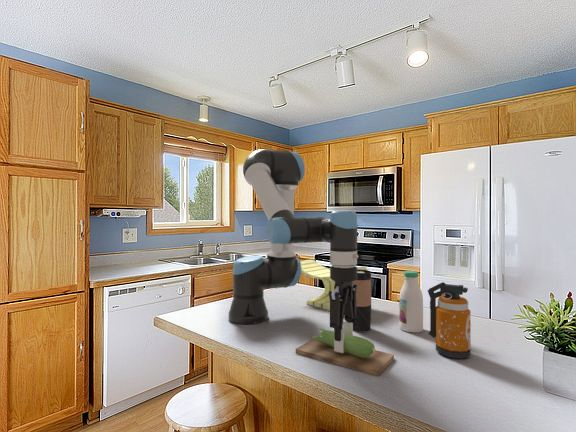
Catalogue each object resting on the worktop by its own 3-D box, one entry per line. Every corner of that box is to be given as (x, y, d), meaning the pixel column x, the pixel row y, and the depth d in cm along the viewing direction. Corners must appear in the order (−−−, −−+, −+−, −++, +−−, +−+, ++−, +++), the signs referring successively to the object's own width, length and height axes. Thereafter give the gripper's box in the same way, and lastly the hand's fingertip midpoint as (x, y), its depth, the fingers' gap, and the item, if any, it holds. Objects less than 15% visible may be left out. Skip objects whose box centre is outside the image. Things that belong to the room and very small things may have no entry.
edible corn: (367, 346, 86) (376, 337, 89) (309, 330, 100) (318, 322, 103) (370, 364, 86) (379, 354, 90) (312, 345, 101) (322, 337, 104)
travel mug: (371, 333, 112) (371, 273, 112) (348, 331, 114) (348, 272, 114) (370, 325, 120) (370, 269, 120) (349, 324, 121) (349, 269, 121)
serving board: (295, 353, 96) (295, 348, 96) (316, 340, 106) (316, 336, 106) (379, 376, 82) (379, 371, 82) (393, 358, 92) (393, 354, 92)
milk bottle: (423, 327, 118) (423, 270, 118) (422, 334, 111) (422, 274, 111) (400, 324, 121) (400, 269, 121) (398, 331, 114) (398, 272, 114)
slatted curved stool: (368, 306, 144) (368, 265, 144) (346, 314, 133) (346, 269, 133) (315, 294, 166) (315, 258, 166) (292, 300, 155) (292, 262, 155)
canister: (469, 363, 90) (469, 288, 90) (425, 353, 96) (425, 283, 95) (471, 351, 97) (471, 282, 97) (430, 343, 103) (430, 278, 103)
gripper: (341, 271, 85) (341, 363, 85) (368, 262, 100) (368, 340, 100) (316, 268, 89) (316, 356, 89) (345, 260, 104) (345, 335, 104)
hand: (343, 347), depth 94 cm, fingers closed on edible corn, 5 cm apart
